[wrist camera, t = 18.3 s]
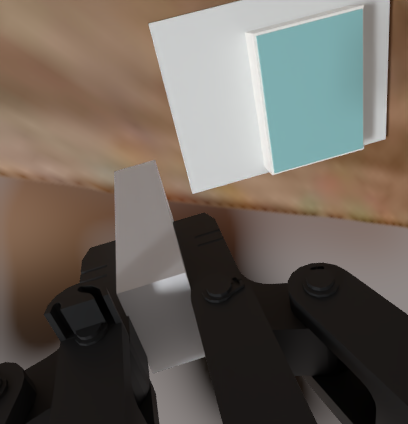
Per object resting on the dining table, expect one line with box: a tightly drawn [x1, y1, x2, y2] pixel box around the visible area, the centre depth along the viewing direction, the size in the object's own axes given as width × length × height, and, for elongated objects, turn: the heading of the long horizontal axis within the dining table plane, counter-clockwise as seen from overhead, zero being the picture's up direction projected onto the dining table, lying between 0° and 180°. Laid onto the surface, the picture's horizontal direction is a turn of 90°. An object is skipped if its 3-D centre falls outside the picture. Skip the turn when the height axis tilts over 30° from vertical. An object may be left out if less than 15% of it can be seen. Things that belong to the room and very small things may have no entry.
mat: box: [148, 0, 390, 194], centre depth 34 cm, size 15×20×1 cm
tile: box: [245, 5, 364, 175], centre depth 33 cm, size 12×2×9 cm
